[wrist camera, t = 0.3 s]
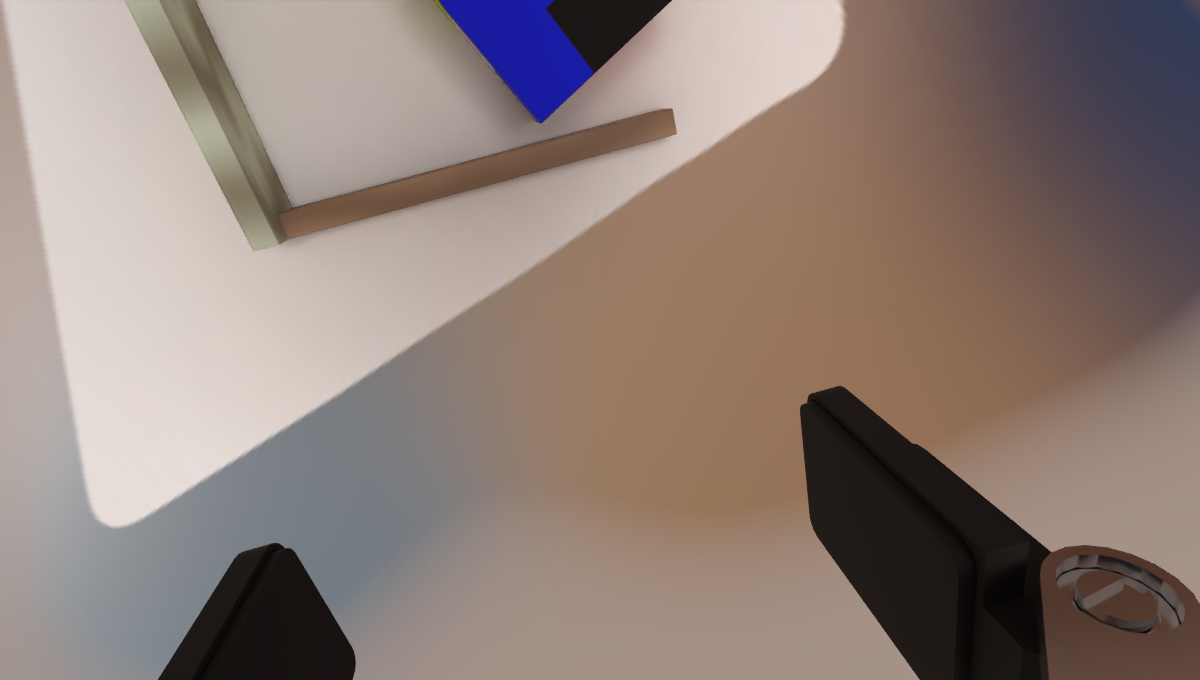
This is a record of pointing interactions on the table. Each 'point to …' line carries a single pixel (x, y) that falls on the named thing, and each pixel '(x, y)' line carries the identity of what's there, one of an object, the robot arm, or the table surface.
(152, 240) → the table surface
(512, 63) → the puzzle toy
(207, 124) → the trap box
